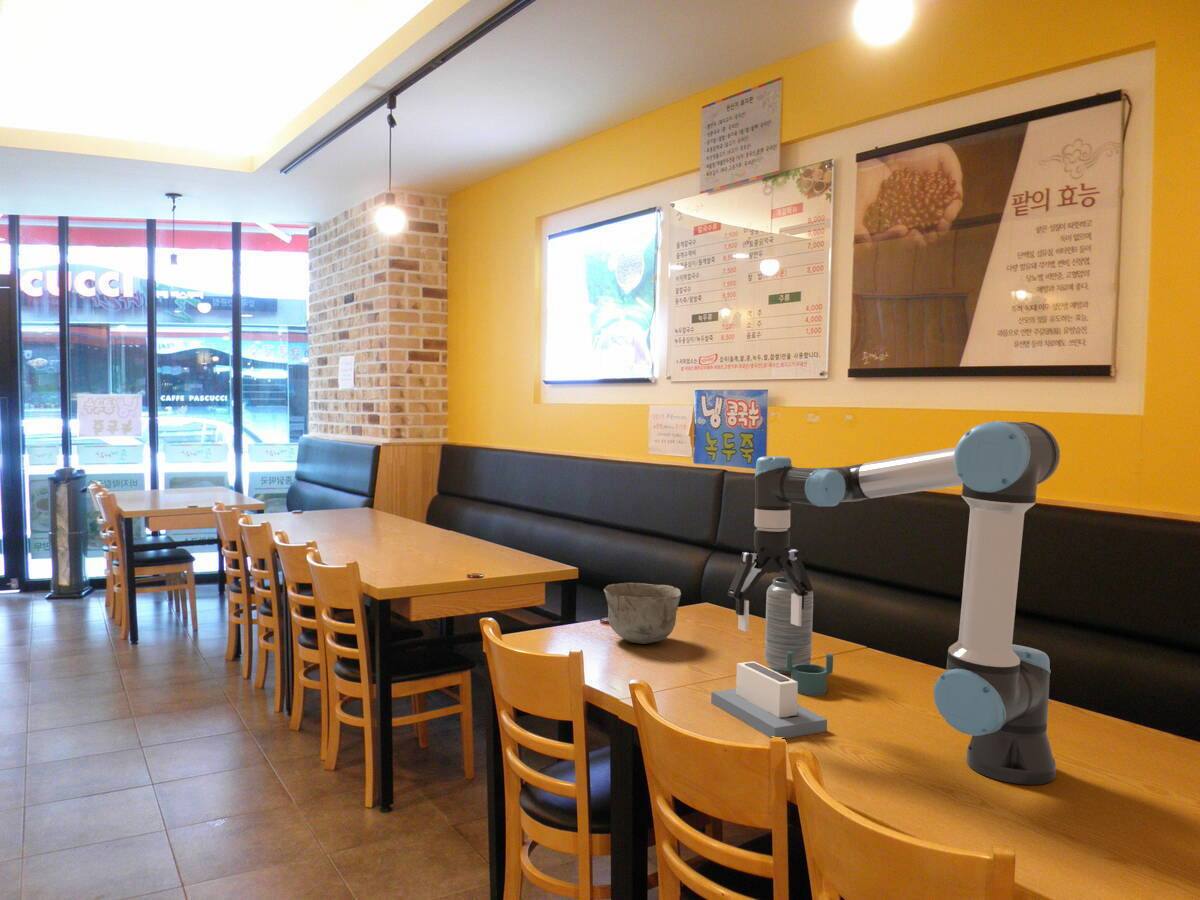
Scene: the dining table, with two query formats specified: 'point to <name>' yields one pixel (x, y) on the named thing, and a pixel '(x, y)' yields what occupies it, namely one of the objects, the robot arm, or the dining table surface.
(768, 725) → the board
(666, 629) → the bowl
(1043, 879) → the dining table surface
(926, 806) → the dining table surface
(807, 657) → the vase
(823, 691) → the bracket
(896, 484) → the robot arm
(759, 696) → the block
